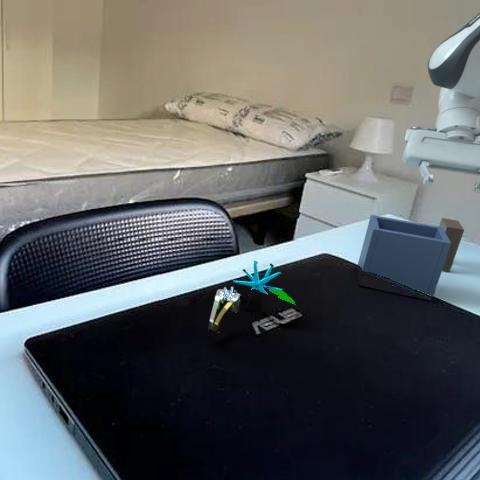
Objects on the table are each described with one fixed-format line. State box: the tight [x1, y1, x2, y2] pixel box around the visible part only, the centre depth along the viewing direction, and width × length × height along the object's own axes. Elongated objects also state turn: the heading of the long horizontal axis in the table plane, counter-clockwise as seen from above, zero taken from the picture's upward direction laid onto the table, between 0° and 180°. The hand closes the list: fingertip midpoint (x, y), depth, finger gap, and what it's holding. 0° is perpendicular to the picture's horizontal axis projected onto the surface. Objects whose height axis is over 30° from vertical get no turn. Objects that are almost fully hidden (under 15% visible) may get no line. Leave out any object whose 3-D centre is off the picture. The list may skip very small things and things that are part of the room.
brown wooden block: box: [438, 217, 465, 273], centre depth 98 cm, size 3×6×9 cm, turn 162°
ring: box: [208, 286, 241, 332], centre depth 68 cm, size 7×3×8 cm, turn 142°
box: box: [357, 214, 451, 297], centre depth 88 cm, size 12×8×11 cm, turn 72°
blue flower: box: [233, 260, 297, 306], centre depth 79 cm, size 12×7×8 cm
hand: (453, 187), depth 102 cm, fingers open, 8 cm apart
